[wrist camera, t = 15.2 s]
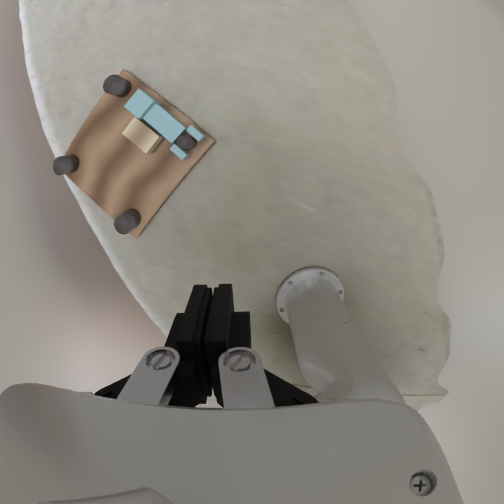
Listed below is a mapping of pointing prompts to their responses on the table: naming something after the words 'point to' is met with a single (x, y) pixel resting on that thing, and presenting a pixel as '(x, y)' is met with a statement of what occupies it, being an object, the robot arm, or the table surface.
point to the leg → (161, 120)
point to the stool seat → (128, 157)
